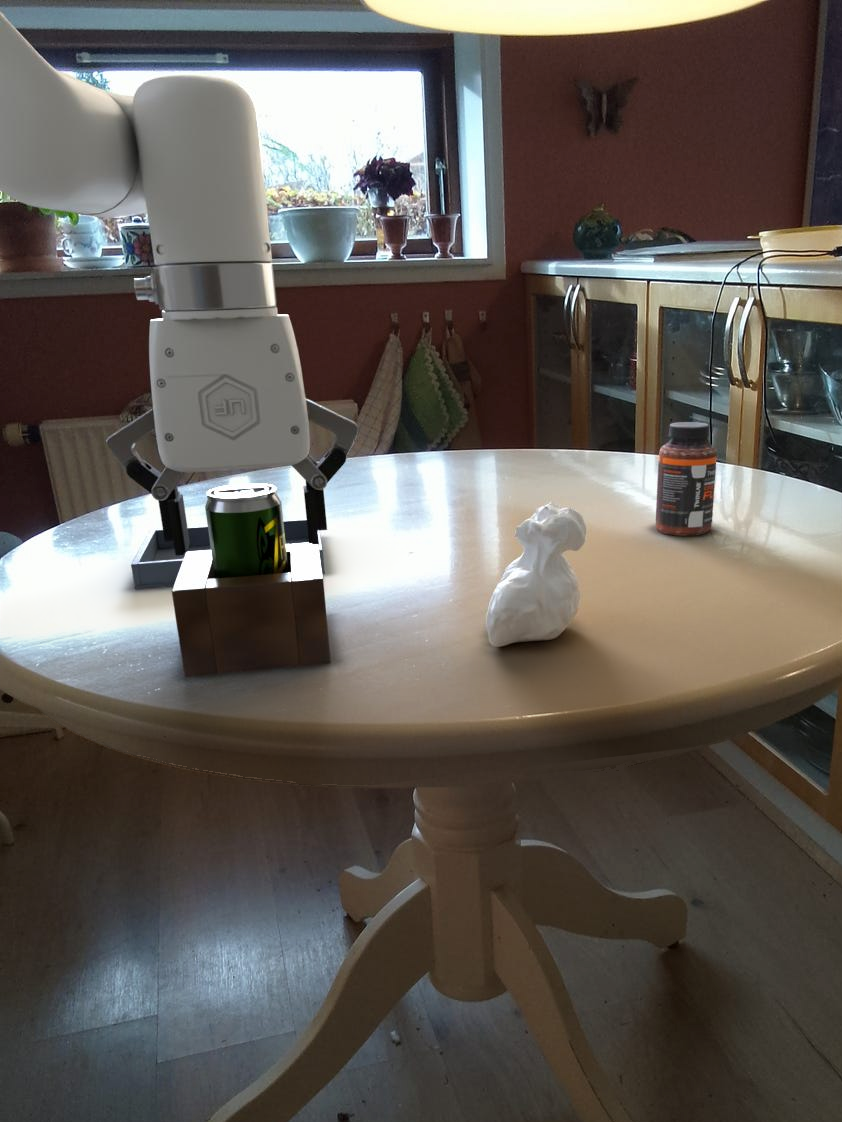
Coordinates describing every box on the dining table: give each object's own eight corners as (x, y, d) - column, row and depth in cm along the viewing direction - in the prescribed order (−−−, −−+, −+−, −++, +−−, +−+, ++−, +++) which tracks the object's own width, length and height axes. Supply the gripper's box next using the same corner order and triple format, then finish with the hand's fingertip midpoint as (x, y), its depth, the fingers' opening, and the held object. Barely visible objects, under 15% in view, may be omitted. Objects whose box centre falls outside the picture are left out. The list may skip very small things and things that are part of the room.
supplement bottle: (712, 539, 96) (719, 428, 92) (653, 537, 97) (658, 428, 93) (711, 525, 101) (718, 420, 97) (656, 523, 102) (660, 419, 98)
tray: (135, 590, 84) (130, 564, 83) (153, 552, 96) (150, 529, 96) (324, 575, 87) (322, 549, 86) (319, 540, 99) (317, 517, 99)
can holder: (184, 678, 65) (171, 591, 63) (197, 629, 74) (185, 551, 72) (331, 664, 67) (323, 578, 64) (325, 618, 76) (318, 541, 74)
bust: (512, 690, 67) (608, 581, 61) (433, 621, 67) (521, 507, 62) (560, 634, 77) (645, 536, 72) (491, 575, 78) (571, 473, 72)
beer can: (220, 661, 68) (197, 500, 63) (228, 636, 73) (208, 485, 68) (294, 656, 68) (277, 496, 64) (297, 631, 73) (282, 481, 69)
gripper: (68, 299, 56) (116, 569, 63) (353, 290, 59) (372, 549, 66) (91, 298, 63) (133, 542, 69) (345, 290, 66) (363, 524, 72)
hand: (249, 545), depth 68 cm, fingers open, 9 cm apart
